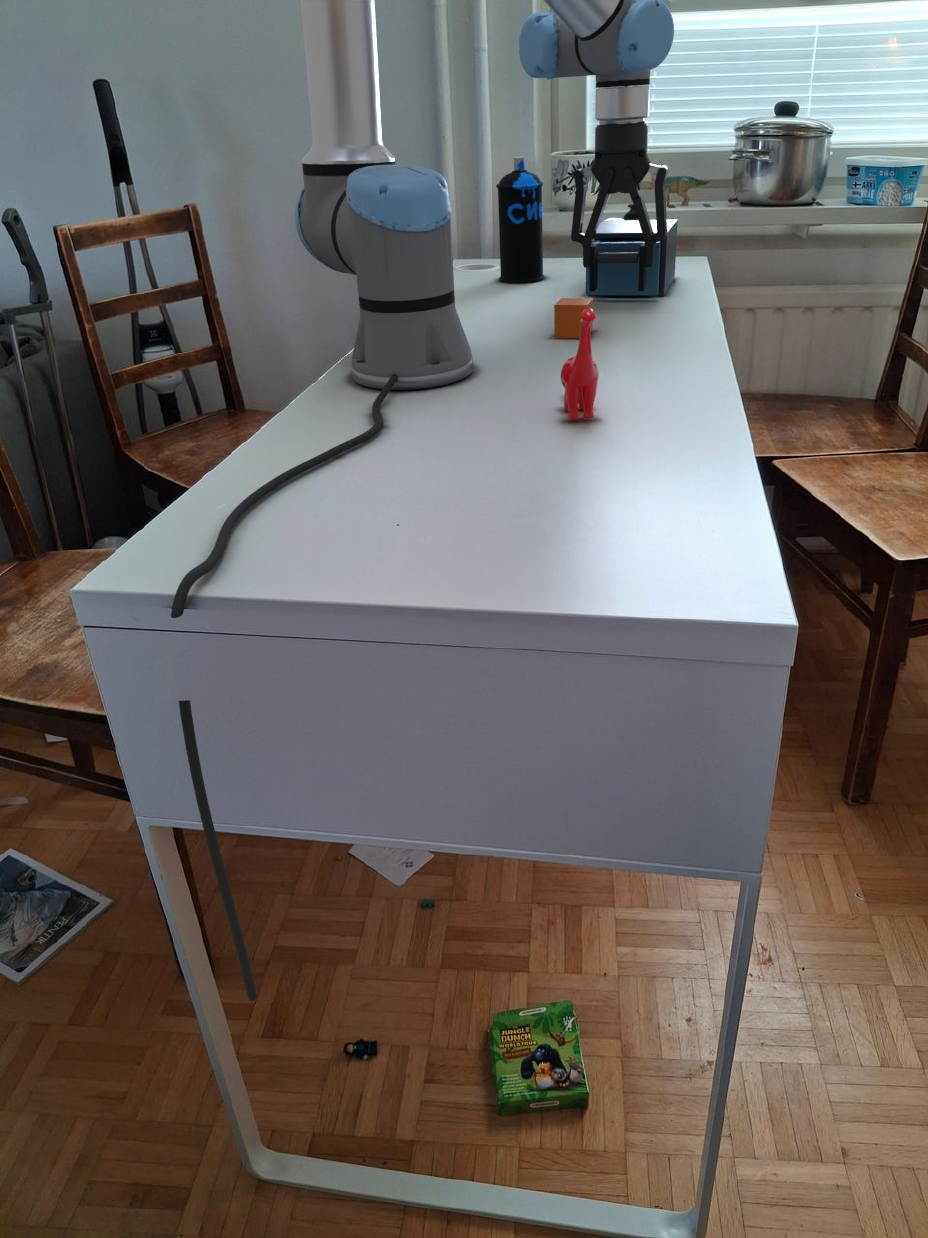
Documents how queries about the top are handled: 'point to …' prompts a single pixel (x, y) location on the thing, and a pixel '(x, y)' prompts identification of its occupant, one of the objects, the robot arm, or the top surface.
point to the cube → (570, 316)
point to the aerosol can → (520, 225)
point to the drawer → (623, 268)
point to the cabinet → (634, 231)
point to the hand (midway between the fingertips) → (617, 289)
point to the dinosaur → (581, 373)
